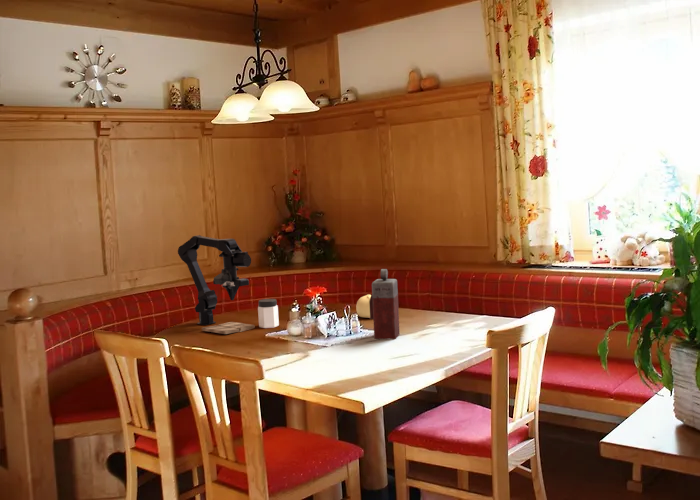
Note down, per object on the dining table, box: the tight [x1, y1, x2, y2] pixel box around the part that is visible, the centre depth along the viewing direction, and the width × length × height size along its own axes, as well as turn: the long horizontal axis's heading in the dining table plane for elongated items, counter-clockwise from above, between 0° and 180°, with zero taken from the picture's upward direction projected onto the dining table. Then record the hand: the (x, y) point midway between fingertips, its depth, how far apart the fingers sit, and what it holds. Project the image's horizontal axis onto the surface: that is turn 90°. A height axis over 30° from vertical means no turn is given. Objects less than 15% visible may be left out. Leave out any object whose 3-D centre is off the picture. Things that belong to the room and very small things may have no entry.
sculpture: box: [355, 293, 372, 319], centre depth 359 cm, size 11×12×11 cm
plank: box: [201, 325, 240, 335], centre depth 342 cm, size 16×8×1 cm, turn 50°
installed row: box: [217, 321, 256, 333], centre depth 349 cm, size 16×9×2 cm, turn 50°
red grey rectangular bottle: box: [369, 268, 400, 340], centre depth 316 cm, size 9×11×28 cm
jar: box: [257, 298, 280, 329], centre depth 349 cm, size 9×8×12 cm
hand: (232, 300), depth 354 cm, fingers closed
